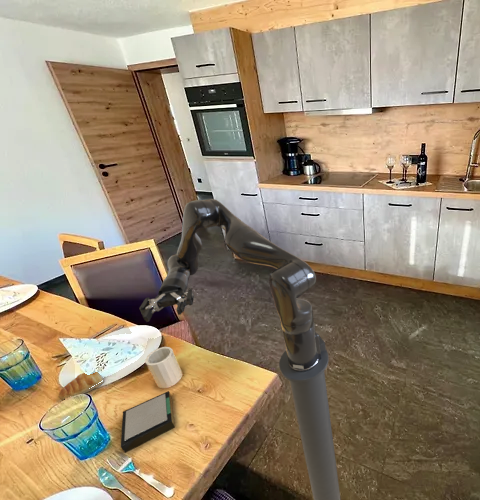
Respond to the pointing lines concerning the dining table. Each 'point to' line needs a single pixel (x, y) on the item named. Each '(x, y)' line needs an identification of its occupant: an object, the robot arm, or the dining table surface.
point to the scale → (147, 421)
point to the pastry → (81, 385)
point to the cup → (164, 367)
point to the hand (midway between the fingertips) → (162, 315)
